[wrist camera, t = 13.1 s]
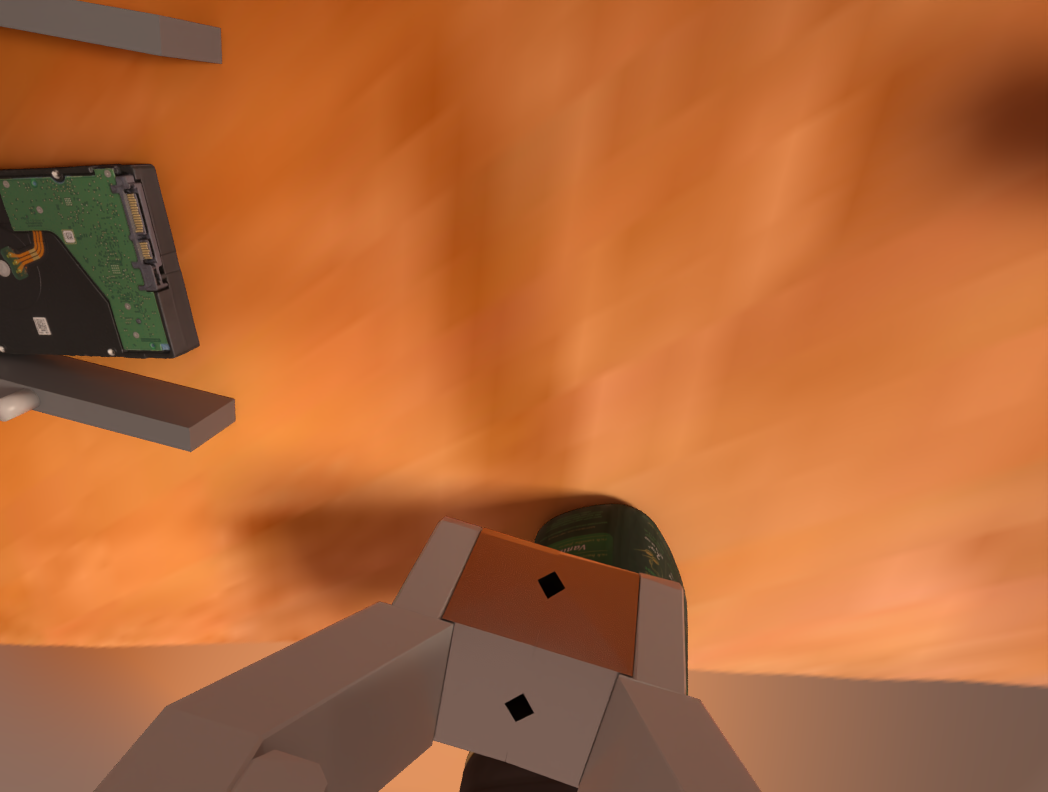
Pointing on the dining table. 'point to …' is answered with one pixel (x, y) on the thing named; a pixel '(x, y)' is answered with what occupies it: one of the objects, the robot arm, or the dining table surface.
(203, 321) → the dining table surface
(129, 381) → the bracket
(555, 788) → the coffee jar
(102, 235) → the disk drive
